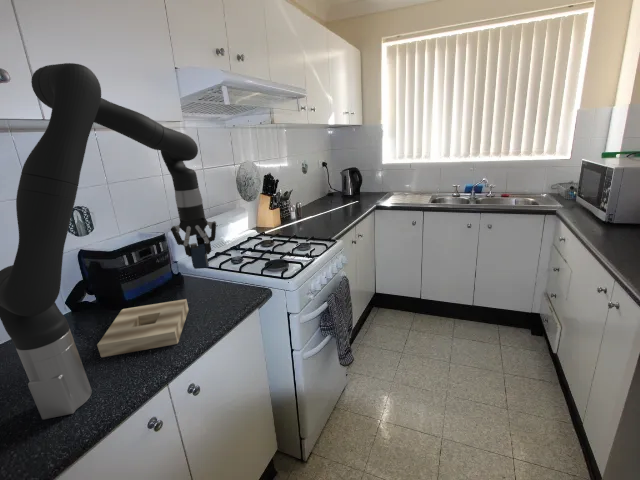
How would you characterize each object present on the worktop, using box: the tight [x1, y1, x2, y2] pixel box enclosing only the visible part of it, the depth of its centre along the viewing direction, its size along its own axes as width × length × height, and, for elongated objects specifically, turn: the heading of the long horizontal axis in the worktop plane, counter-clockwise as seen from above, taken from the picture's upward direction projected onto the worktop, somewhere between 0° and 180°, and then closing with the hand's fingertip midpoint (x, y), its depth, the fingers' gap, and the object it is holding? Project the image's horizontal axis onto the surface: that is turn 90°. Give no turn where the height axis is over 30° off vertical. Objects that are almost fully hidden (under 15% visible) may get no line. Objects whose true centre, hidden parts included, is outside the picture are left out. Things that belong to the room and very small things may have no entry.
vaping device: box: [189, 235, 210, 270], centre depth 109 cm, size 3×5×12 cm, turn 89°
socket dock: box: [96, 298, 190, 358], centre depth 103 cm, size 20×20×4 cm
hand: (199, 254), depth 109 cm, fingers closed on vaping device, 5 cm apart
